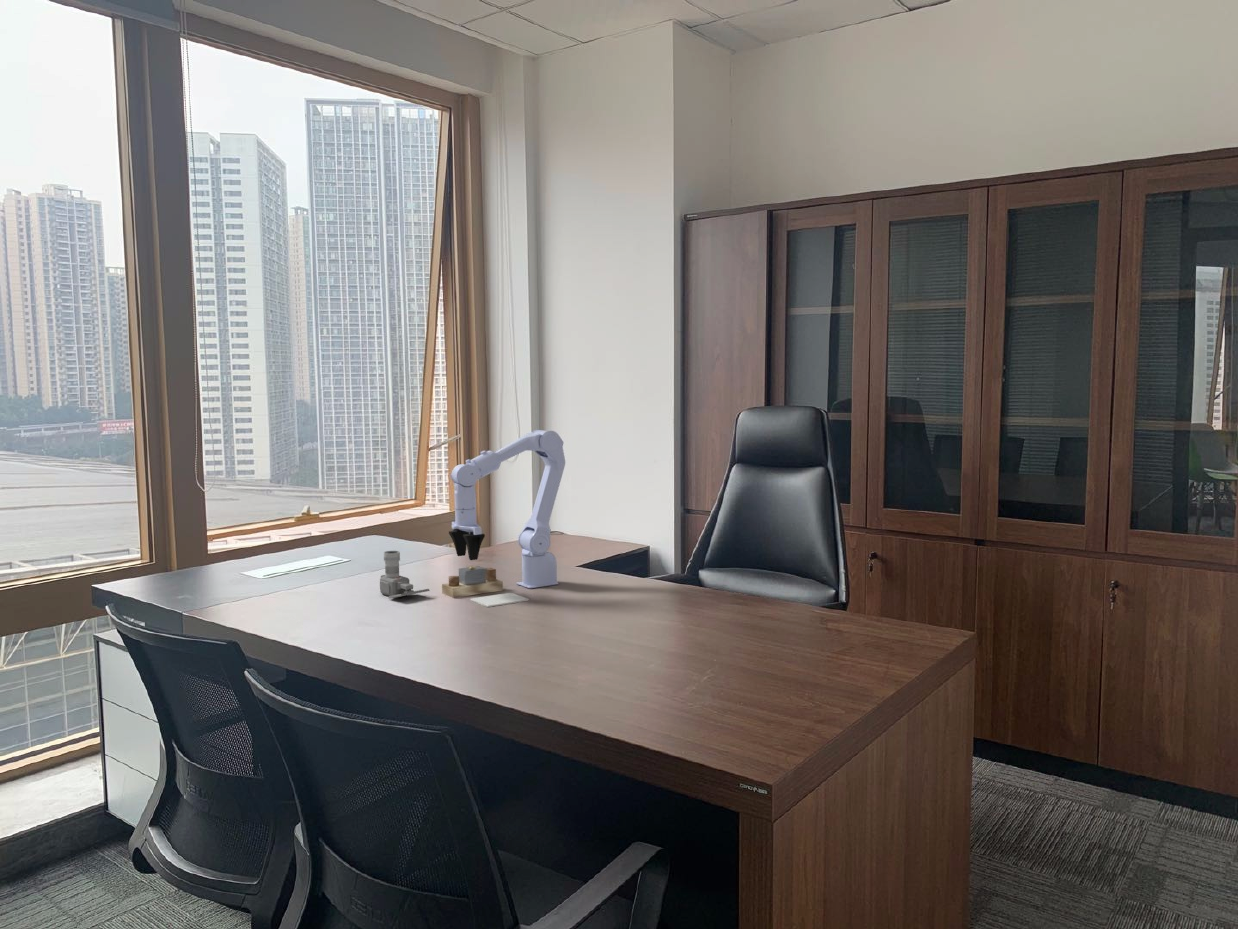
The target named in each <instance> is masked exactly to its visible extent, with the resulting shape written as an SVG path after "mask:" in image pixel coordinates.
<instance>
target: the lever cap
mask: <svg viewBox="0 0 1238 929" xmlns="http://www.w3.org/2000/svg"><path fill="white" fill-rule="evenodd" d="M486 568H487V567H483V566H479V565H475V566H468V567H462V568H458V576H459V583H461V584H463V585H466V586H467V585H474V584H481V583H486Z"/></svg>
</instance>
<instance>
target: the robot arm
mask: <svg viewBox="0 0 1238 929" xmlns="http://www.w3.org/2000/svg"><path fill="white" fill-rule="evenodd" d="M563 447H564V441H563V439H562V438H561V436H560V435H559V433H558V432H557V431H554V430H542V429H535V430H533V431H532V432H528V433H526V434H524V435H522V436H520V437H519V438H517V439H515V440H514V441H512V442H510V443H508V444H507V445H504V446H503V447H502V448H500V449H499V450H496V451H495V452H494V451H492V450H482V451H480V452H479V453H480V455H477V456H475V457H474V458H472V459H466V460H465V464H464V463H463V464H462V463H461V464H458V465H456V466H454V467H453V469H452V470H451V474H450V479H451V481H452V483H453V487H454V491H453V493H454V496H453V497H454V514H455V516H454V518H455V519H454V521H451V529H452V530H449V531H448V534H449V536H450V538H451V540H452V542H453V544H454V548H455V552H456V556H457V557H463V556H464V557H465V556H466V553H467V554H468V558H469V561H476V560H478V559H479V554H480V549H481V545H482V542H483V540H484V539H485V537H486V535H485V533H482V531H483V530H482V526H480V525H479V524H478V523H477V522H478V520H477V518H478V517H477V499H476V498H477V495H476V494H477V492H476V484H477V483H478V480H480V479H483V478H484V477H486V476H488V475H489V474H491V473H493V472H495V471H497V470H499V469H500V466H501V463H503V462H505V461H508V459H511V458H513V457H515V456H517V455H519V454H521V453H523V452H526V451H530V452H531V451H533V452H535V453H536V454H537V455H538V456H539V457H540V458H541V460H542V462H543V464H544V465H545V466H544V468H543V472H542V473H543V474H542V477H541V480H540V483H539V488H538V491H537V494H536V498H535V501H534V505H533V508H532V511H531V515H530V517H529V519H528V520H527V521H526V523H524V524H525V525H524V527H523V529H522V531H521V532H520V533H519V535H518V538H517V543H518V546H520V548H521V549H522V550H521V575H522V576H521V579H522V581H517V582H516V585H519V586H521V587H525V588H527V589H533V588H535V589H536V588H541V587H547V586H548V587H549V586H553V585H559V581H558V572H557V570H558V569H557V559H556V555H555V554H554V553H553V552H552V551H551V552H550V551H549V549H550V546H551V538H550V536H551V533H552V532H551V531H552V530H551V526H550V521H551V516H552V513H553V509H554V507H555V506H554V505H555V502H556V500H557V498H556V497H557V495H558V491H559V487H560V485H561V481H562V477H563V474H564V469H565V467H566V459H565V452H564V448H563ZM548 551H549V552H548Z"/></svg>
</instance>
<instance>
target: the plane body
mask: <svg viewBox="0 0 1238 929" xmlns="http://www.w3.org/2000/svg"><path fill="white" fill-rule="evenodd" d="M485 568H486V583H481V584H474V585H467V586H466V585H463V584H461V583H459V575H450V576H448V583H443V584H441V592H442V593H441V594H443V595H445V596H447V597H450V598H452V599H453V598H462V597H469V596H474V595H475V596H476V595H481V594H488V593H493V592H500V591H504V583H503V582H504V581H502V580H500V579H497V569H496V568H494V567H485Z"/></svg>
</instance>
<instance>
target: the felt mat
mask: <svg viewBox="0 0 1238 929" xmlns="http://www.w3.org/2000/svg"><path fill="white" fill-rule="evenodd" d="M470 601H471V602H474V603H476V604H478V605H481V606H483V607H486V608H490V607H497V606H503V605H509V604H516V603H522V602H528V601H529V598H527V597H525V596H521V595H519V594H516V593H514V592H505V593H500V594H493V595H486V596H480V597H479V596H478V597H473V598H470Z"/></svg>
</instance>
